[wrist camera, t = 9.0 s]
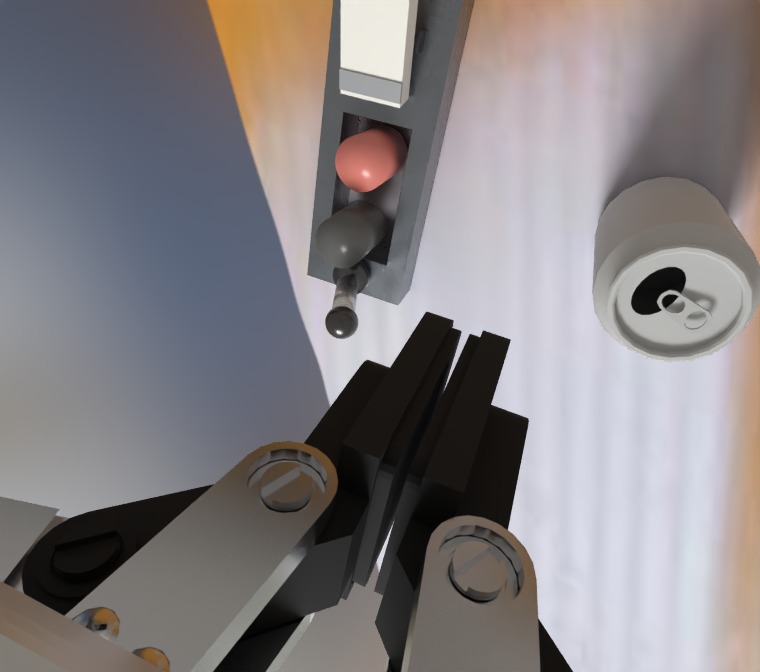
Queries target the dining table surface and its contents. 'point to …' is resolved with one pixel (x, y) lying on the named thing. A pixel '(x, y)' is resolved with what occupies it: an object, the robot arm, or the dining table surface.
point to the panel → (428, 123)
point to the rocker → (377, 49)
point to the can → (672, 271)
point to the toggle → (343, 309)
